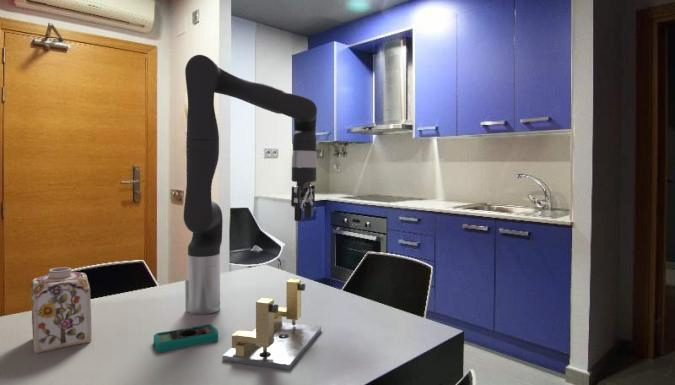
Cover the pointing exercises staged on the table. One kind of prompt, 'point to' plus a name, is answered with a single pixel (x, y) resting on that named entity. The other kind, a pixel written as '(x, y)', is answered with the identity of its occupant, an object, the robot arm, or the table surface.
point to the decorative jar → (60, 310)
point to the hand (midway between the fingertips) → (303, 219)
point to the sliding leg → (292, 301)
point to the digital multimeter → (185, 338)
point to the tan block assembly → (258, 329)
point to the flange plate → (279, 347)
